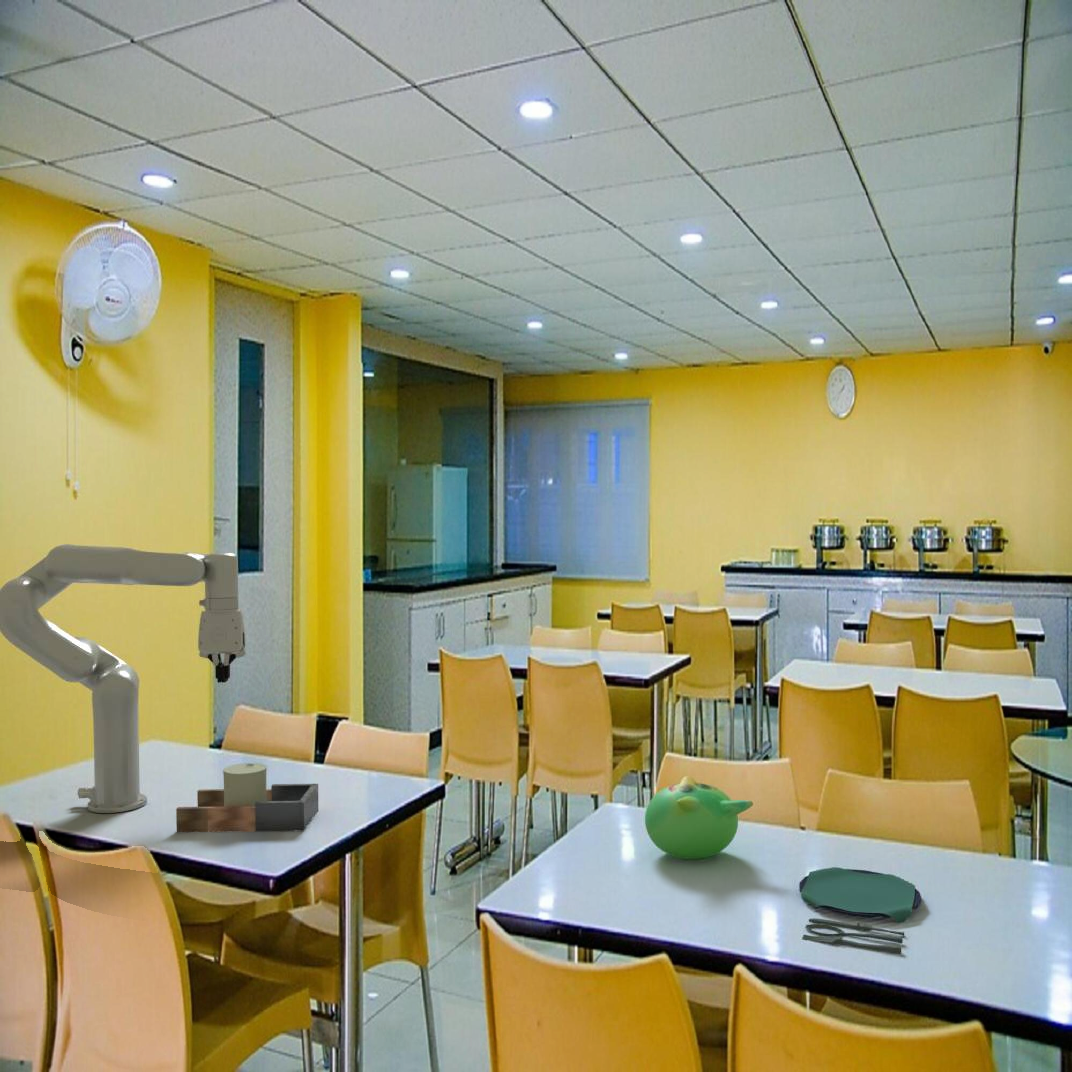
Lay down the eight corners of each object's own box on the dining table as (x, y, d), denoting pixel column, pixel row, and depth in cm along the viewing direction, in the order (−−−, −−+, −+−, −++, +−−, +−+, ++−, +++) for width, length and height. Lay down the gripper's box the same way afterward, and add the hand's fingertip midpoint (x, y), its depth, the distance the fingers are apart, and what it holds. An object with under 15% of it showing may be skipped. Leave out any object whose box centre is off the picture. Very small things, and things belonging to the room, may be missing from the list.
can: (273, 814, 214) (273, 761, 214) (258, 828, 205) (257, 771, 204) (233, 813, 215) (233, 760, 214) (216, 827, 205) (215, 771, 205)
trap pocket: (255, 831, 202) (255, 803, 202) (273, 810, 217) (272, 784, 217) (304, 830, 202) (303, 802, 202) (318, 810, 217) (318, 783, 217)
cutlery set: (924, 888, 169) (924, 875, 169) (915, 963, 142) (915, 948, 142) (808, 873, 177) (808, 860, 177) (778, 941, 150) (778, 926, 150)
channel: (176, 832, 202) (176, 808, 202) (199, 811, 216) (199, 789, 216) (255, 831, 202) (255, 807, 202) (273, 810, 217) (272, 788, 217)
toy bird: (710, 837, 197) (710, 765, 196) (757, 864, 181) (757, 786, 181) (631, 848, 190) (630, 774, 190) (673, 878, 174) (673, 797, 174)
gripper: (184, 606, 225) (185, 684, 225) (248, 605, 225) (249, 684, 226) (195, 603, 233) (196, 679, 233) (257, 603, 233) (258, 678, 233)
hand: (222, 681), depth 229 cm, fingers closed
